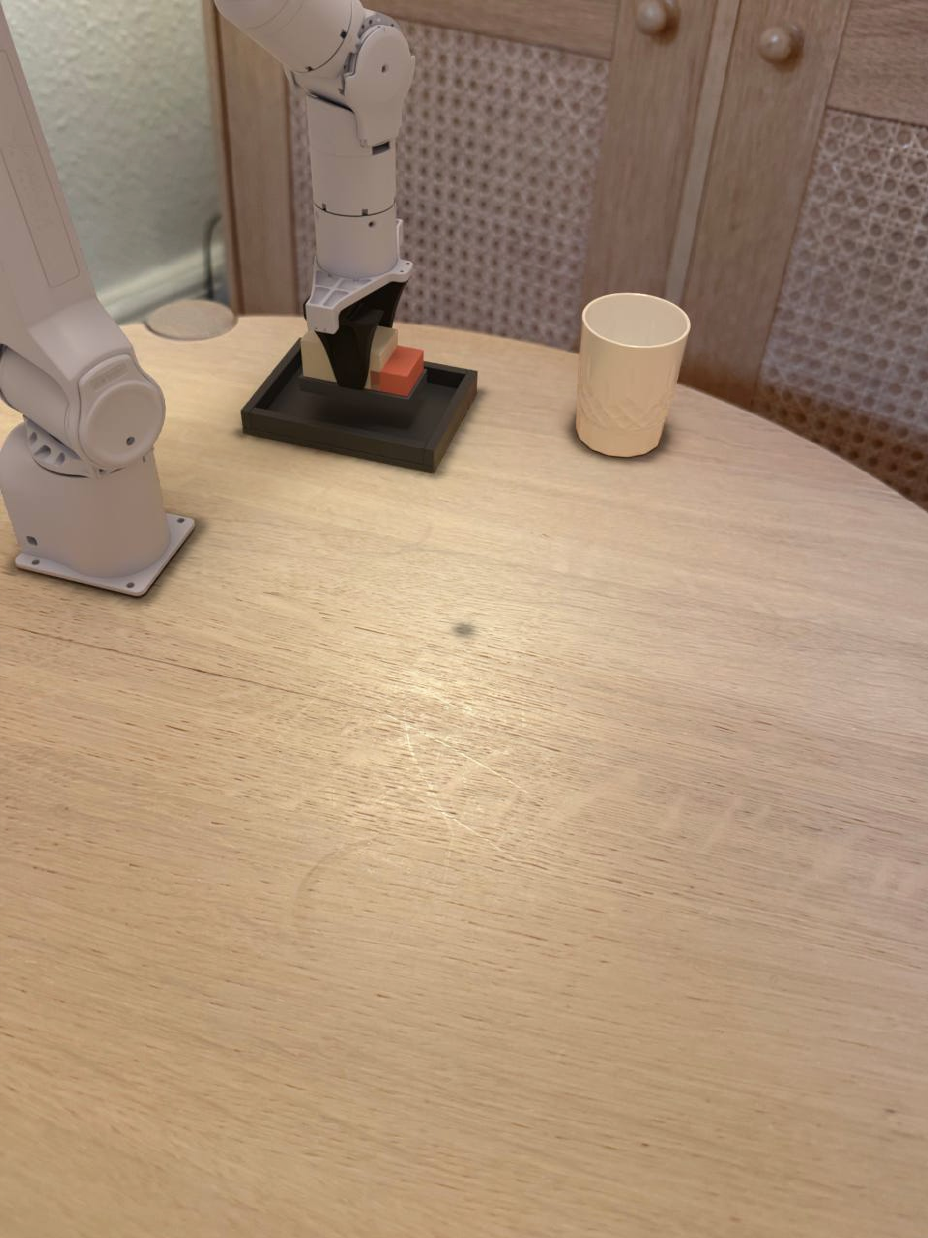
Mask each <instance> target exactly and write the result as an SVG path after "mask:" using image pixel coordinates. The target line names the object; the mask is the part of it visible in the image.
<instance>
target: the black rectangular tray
mask: <svg viewBox="0 0 928 1238" xmlns="http://www.w3.org/2000/svg"><path fill="white" fill-rule="evenodd" d="M301 338H302V337H299V338H298V339H297V340H296V341H295V342H294V344H293V345H292V346H291V347H290V349H289V350H288V351H287V353H285V355H284V356H283V357H282V359H281V360H279V362H278V364H277V365H276V366H275V367H274V369H273V370H272V371H271V372H270V373H269V375H268V376H267V377H266V378H265V380H264V381H263V382H262V383H261V384H260V385H259V387H258V388H257V390H256V391H255V392H254V393H253V394H252V396H251V397H250V398H249V399H248V400H247V402H246V403H245V404H244V406H243V407H242V408H241V410H240V418H241V425H242V434H245V435H250V436H255V437H259V438H263V439H269V440H273V441H278V442H284V443H288V444H292V445H298V446H303V447H308V448H311V449H317V450H322V451H326V452H332V453H336V454H341V455H345V456H350V457H354V458H355V457H356V458H359V459H360V458H361V459H365V460H369V461H375V462H380V463H384V464H389V465H392V466H399V467H403V468H407V469H413V470H417V471H423V472H427V473H432V474H434V473H435V471H436V469H437V468H438V466H439V465H440V462H441V460H442V458H443V457H444V455H445V453H446V451H447V449H448V447H449V445H450V443H451V442H452V440H453V438H454V436H455V434H456V432H457V431H458V428H459V427H460V425H461V423H462V421H463V419H464V418H465V416H466V413H467V412H468V410H469V408H470V407H471V405H472V402H473V400H474V398H475V397H476V395H477V393H478V374H479V372H478V370H475V369H471V368H470V369H469V368H464V367H458V366H455V365H448V364H443V363H438V362H433V361H427V360H424V369H427V383H426V385H425V386H424V388H423V389H422V391H421V393H420V394H419V396H418V398H417V399H416V401H415V403H414V404H413V406H412V407H411V409H410V411H409V412H404V411H399V410H394V409H389V408H384V407H379V406H374V405H370V404H365V403H360V402H355V401H350V400H345V399H340V398H335V397H330V396H325V395H320V394H315V393H310V392H305V391H300V388H299V376H300V375H301V374H302V372H303V364H302V353H301V341H300V340H301Z"/></svg>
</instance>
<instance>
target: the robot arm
mask: <svg viewBox="0 0 928 1238" xmlns="http://www.w3.org/2000/svg"><path fill="white" fill-rule="evenodd" d="M213 3H214V5H215V7H216V9H217V11H218V12H219V14H220V15H221V16H222V17H224V18H225V19H226V21H228V22H230V23H231V24H232V25H233V26H234V27H236V28H237V29H238V30H240V32H242V33H244V34H245V36H247V37H248V38H249V39H251V40H252V41H253V42H254V43H256V44H257V45H258V46H259V47H261V48H262V49H263V50H265V52H267V53H268V54H269V55H271V57H273V58H275V59H276V60H277V61H278V62H280V63H281V65H282V68H283V72H284V74H285V77H286V78H287V80H288V82H289V84H290V85H291V86H292V87H294V88H300V89H301V90H303V91H305V92H306V94H305V100H306V116H307V130H308V142H309V143H308V145H309V156H310V170H311V171H310V172H311V185H312V186H311V187H312V201H313V218H314V219H313V220H314V231H315V232H314V233H315V247H316V249H315V250H316V255H315V257H314V261H313V262H314V263H313V272H312V285H311V293H310V295H309V296H308V297H307V299H306V300H305V301H304V302H303V304H302V312H303V313H302V314H303V318H304V320H305V321H306V328H307V330H314V331H315V333H316V334H317V336H318V337H319V339H320V341H321V343H322V344H323V346H324V349H325V351H326V354H327V356H328V359H329V362H330V364H331V367H332V370H333V373H334V376H335V379H336V381H337V384H338V386H340V387H346V388H351V389H356V390H363V389H364V387H365V385H366V382H367V378H368V373H369V365H370V354H371V347H372V342H373V338H374V334H375V331H376V328H377V326H383V327H388V328H393V326H394V322H395V316H396V312H397V309H398V306H399V303H400V300H401V299H402V298H401V297H402V295H403V292H404V290H405V288H406V286H407V284H408V282H409V280H410V278H411V276H412V275H413V272H414V263H413V262H412V261H410V260H405V259H402V258H401V249H400V248H401V247H402V246H403V244H404V220H403V219H400V218H397V150H396V147H397V145H396V144H397V143H396V140H397V139H396V138H397V137H398V136H399V134H400V128H401V127H403V107H404V102H405V101H406V97H407V95H408V93H409V90H410V89H411V86H412V82H413V80H414V74H415V70H416V56H415V55H412V54H411V51H410V47H409V44H408V41H407V39H406V37H405V36H404V33H403V31H402V29H401V27H400V25H399V24H398V23H397V21H395V19H393V18H392V17H391V16H389V15H386V14H383V13H380V12H378V11H376V10H375V11H374V10H372V9H368V8H365V7H363V4H362V2H361V1H360V0H213ZM0 400H1V401H2V402H3V403H4V404H5V405H6V406H7V407H9V408H11V409H13V410H15V411H17V412H18V413H20V414H22V415H21V416H22V418H23V421H22V422H20V423H18V424H17V425H16V426H15V427H14V428H13V429H12V430H10V432H9V434H8V435H7V437H6V438H5V440H4V442H3V444H2V445H1V448H0V494H1V497H2V499H3V502H4V506H5V509H6V511H7V514H8V517H9V520H10V523H11V526H12V529H13V531H14V534H15V537H16V541H17V543H18V546H19V549H20V553H19V554H18V555H17V556H16V558H15V559H14V563H15V565H16V567H17V568H18V569H24V570H27V571H31V572H35V573H40V574H44V575H47V576H52V577H57V578H59V579H65V580H69V581H73V582H77V583H81V584H85V585H88V586H93V587H98V588H100V589H105V590H110V591H113V592H117V593H121V594H126V595H129V596H134V597H141V596H142V595H144V594H146V592H147V591H148V590H149V588H150V587H151V585H152V584H153V583H154V581H155V580H156V579H157V577H158V576H159V575H160V574H161V572H162V571H163V570H164V568H165V567H166V566H167V564H169V562H170V560H171V559H172V558H173V556H174V555H175V554H176V552H177V551H178V549H179V548H180V547H181V546H182V544H183V543H184V542H185V540H186V539H187V538H188V537H189V535H190V534H191V533H192V531H193V530H194V529H195V527H196V523H195V519H194V518H192V517H188V516H184V515H178V514H174V513H170V512H166V511H167V510H166V506H165V502H164V497H163V491H162V487H161V481H160V477H159V472H158V468H157V463H156V458H155V454H154V450H155V444H156V442H157V441H158V439H159V437H160V435H161V433H162V431H163V427H164V425H165V421H166V413H167V411H166V410H167V406H166V398H165V395H164V393H163V390H162V389H161V387H160V385H159V384H158V382H157V381H156V380H155V379H154V378H153V377H152V376H150V375H149V374H148V373H147V372H146V371H145V369H143V368H142V366H141V364H140V363H139V361H138V357H137V355H136V351H135V348H134V346H133V344H132V343H131V341H130V340H129V338H128V337H127V336H126V334H125V332H124V331H123V330H122V329H121V327H120V325H118V323H117V322H116V321H115V319H114V318H113V317H112V316H111V315H110V313H109V312H108V311H107V309H106V308H105V307H104V305H103V304H102V303H101V301H100V300H99V298H98V295H97V293H96V290H95V287H94V283H93V281H92V278H91V274H90V272H89V268H88V265H87V262H86V259H85V256H84V252H83V250H82V247H81V245H80V241H79V237H78V235H77V232H76V228H75V225H74V223H73V220H72V216H71V214H70V210H69V207H68V204H67V202H66V198H65V195H64V192H63V189H62V186H61V183H60V180H59V177H58V174H57V171H56V168H55V164H54V161H53V159H52V155H51V151H50V149H49V145H48V143H47V141H46V137H45V134H44V131H43V127H42V125H41V122H40V118H39V116H38V111H37V109H36V107H35V103H34V100H33V98H32V95H31V91H30V88H29V86H28V82H27V79H26V76H25V74H24V70H23V68H22V64H21V61H20V57H19V55H18V52H17V48H16V45H15V43H14V40H13V36H12V34H11V30H10V28H9V24H8V20H7V18H6V14H5V12H4V9H3V6H2V3H1V1H0Z"/></svg>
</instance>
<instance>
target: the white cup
mask: <svg viewBox="0 0 928 1238" xmlns="http://www.w3.org/2000/svg"><path fill="white" fill-rule="evenodd" d="M691 325H692V324H691V320H690V317H689V316H688V314H687V313H686V312H685V311H684V310H683V309H682V308H680V307H679V306H678V305H676V304H675V303H674V302H671V301H669V300H667V299H664V298H661V297H658V296H654V295H651V294H645V293H639V292H617V293H616V292H615V293H611V294H606V295H603V296H599V297H598V298H595V299H593V300H591V301H590V302H588V303H587V304H586V305H585V307H584V308H583V310H582V313H581V324H580V340H579V354H578V365H577V367H578V368H577V389H576V402H577V407H576V417H575V429H576V432H577V435H578V438H579V440H580V441H581V442H583V443H584V444H585V445H586V446H587V447H588V448H589V449H590V450H593V451H596V452H598V453H601V454H603V455H606V456H609V457H621V458H622V457H623V458H630V457H637V456H641V455H645V454H647V453H649V452H650V451H651V450H653V449H655V448H656V447H658V445H659V442H660V441H661V438H662V435H663V431H664V427H665V423H666V419H667V415H669V412H670V409H671V405H672V401H673V398H674V394H675V391H676V387H677V383H678V379H679V375H680V371H681V368H682V367H681V366H682V363H683V359H684V355H685V351H686V347H687V344H688V338H689V334H690V331H691Z"/></svg>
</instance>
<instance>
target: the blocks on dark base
mask: <svg viewBox="0 0 928 1238" xmlns="http://www.w3.org/2000/svg"><path fill="white" fill-rule="evenodd" d="M398 330H399V329H398V328H393V327H392V328H388V327H383V326H377V328H376V331H375V334H374V338H373V342H372V347H371V354H370V365H369V373H368V378H367V382H366V385H365V387H364V389H363V390H356V389H351V388H346V387H340V386H338V384H337V381H336V379H335V376H334V373H333V370H332V367H331V364H330V362H329V359H328V356H327V354H326V351H325V349H324V346H323V344H322V343H321V341H320V339H319V337H318V336H317V334H316V333H315V331H314V330H309V329H307V331H306V332H305V333H304V335H303V336H302V337H301V340H300V341H301V353H302V364H303V372H302V374H301V375H300V376H299V388H300V391H305V392H310V393H315V394H320V395H325V396H330V397H335V398H340V399H345V400H350V401H355V402H360V403H365V404H370V405H374V406H379V407H384V408H389V409H394V410H399V411H404V412H409V411H410V409H411V407H412V406H413V404H414V403H415V401H416V399H417V398H418V396H419V394H420V393H421V391H422V389H423V388H424V386H425V385H426V383H427V369H424V361H425V359H424V358H425V356H424V355H425V353H424V352H425V351H424V349H420V348H415V347H414V348H413V347H409V346H403V345H399V339H398V338H399V336H398V335H399V333H398V332H399V331H398Z"/></svg>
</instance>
